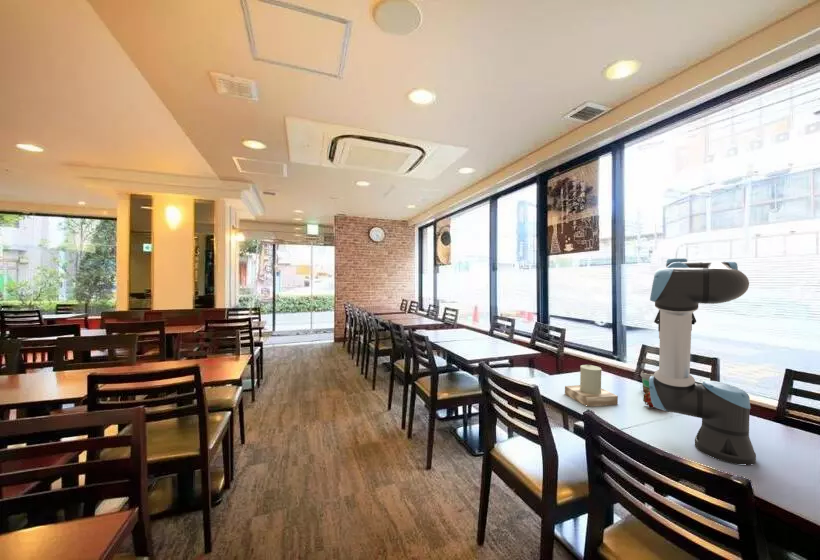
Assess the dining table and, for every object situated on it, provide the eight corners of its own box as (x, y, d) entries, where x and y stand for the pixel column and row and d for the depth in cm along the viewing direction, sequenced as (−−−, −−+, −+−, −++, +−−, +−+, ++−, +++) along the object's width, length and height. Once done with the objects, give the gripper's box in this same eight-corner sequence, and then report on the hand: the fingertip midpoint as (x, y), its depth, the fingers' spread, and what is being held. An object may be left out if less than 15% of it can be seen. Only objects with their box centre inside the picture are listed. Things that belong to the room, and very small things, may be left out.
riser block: (617, 404, 152) (617, 395, 152) (587, 406, 149) (587, 398, 149) (592, 392, 168) (592, 384, 168) (564, 393, 165) (565, 386, 165)
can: (595, 387, 163) (596, 364, 162) (605, 394, 153) (605, 369, 153) (576, 387, 164) (577, 363, 163) (584, 393, 154) (585, 368, 154)
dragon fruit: (639, 409, 150) (666, 414, 149) (651, 405, 143) (680, 410, 142) (635, 391, 155) (662, 395, 154) (647, 386, 148) (674, 390, 147)
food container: (634, 390, 170) (635, 371, 170) (641, 389, 173) (642, 370, 173) (661, 399, 159) (661, 378, 159) (668, 397, 162) (668, 377, 161)
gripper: (690, 291, 154) (689, 336, 155) (645, 291, 150) (644, 337, 150) (707, 292, 147) (706, 339, 147) (660, 292, 142) (659, 341, 143)
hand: (674, 338), depth 149 cm, fingers open, 13 cm apart
